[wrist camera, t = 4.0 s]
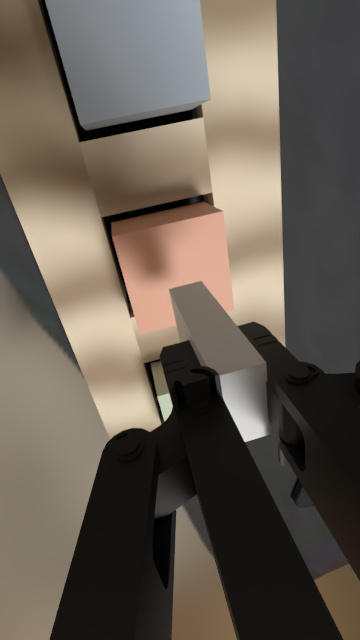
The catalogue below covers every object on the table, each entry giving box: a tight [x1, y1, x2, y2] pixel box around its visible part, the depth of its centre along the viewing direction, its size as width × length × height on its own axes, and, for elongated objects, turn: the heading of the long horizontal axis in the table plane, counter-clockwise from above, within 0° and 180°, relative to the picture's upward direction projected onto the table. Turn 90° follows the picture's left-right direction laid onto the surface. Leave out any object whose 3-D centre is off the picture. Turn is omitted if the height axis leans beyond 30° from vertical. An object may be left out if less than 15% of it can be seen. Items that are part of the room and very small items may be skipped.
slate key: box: [45, 0, 211, 131], centre depth 15 cm, size 6×6×4 cm
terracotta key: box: [111, 202, 234, 334], centre depth 20 cm, size 6×6×4 cm
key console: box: [0, 0, 285, 439], centre depth 22 cm, size 34×16×2 cm, turn 10°
